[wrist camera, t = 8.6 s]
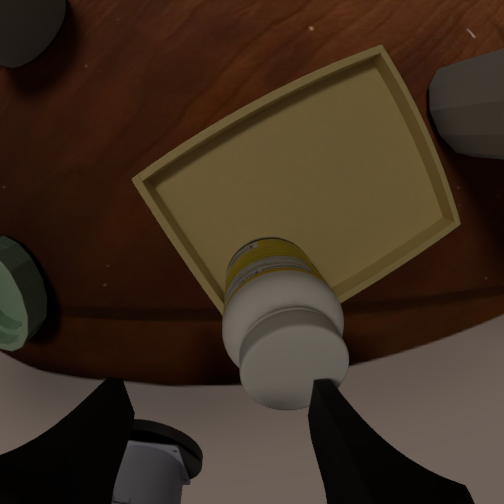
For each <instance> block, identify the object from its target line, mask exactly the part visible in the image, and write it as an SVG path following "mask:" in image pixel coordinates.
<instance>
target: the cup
mask: <svg viewBox="0 0 504 504" xmlns="http://www.w3.org/2000/svg"><path fill="white" fill-rule="evenodd" d="M65 11H66V1H65V0H0V65H2V66H6V67H11V68H13V67H19V66H22V65H24V64H26V63H28V62H30V61H32V60H33V59H34V58H36V57H37V56H39V55H40V54H41V53H42V52H43V51H44V50H45V49H46V48H47V47H48V46H49V44H50V43H51V42H52V40H53V39H54V38H55V36H56V35H57V33H58V31H59V29H60V28H61V25H62V23H63V20H64V17H65Z"/></svg>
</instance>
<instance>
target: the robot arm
mask: <svg viewBox="0 0 504 504" xmlns="http://www.w3.org/2000/svg"><path fill="white" fill-rule="evenodd" d="M134 414H135V413H134V410H133V407H132V405H131V402H130V399H129V396H128V394H127V391H126V388H125V385H124V382H123V379H122V378H113V377H108V378H107V379H106V380H105V381H104V382H103V383H102V384H100V385H99V386H98V388H96V389H95V390H94V391H93V392H92V393H91V394H90V395H89V396H88V397H87V398H86V399H85V400H84V401H82V402H81V403H80V404H79V405H78V406H77V407H76V408H75V409H74V410H73V411H71V412H70V413H69V414H68V415H67V416H65V417H64V418H63V419H62V420H61V421H59V422H58V423H57V424H56V425H55V426H53V427H52V428H50V429H49V430H47V431H46V432H44V433H43V434H41V435H40V436H38V437H37V438H35V439H33V440H31V441H29V442H28V443H26V444H24V445H22V446H20V447H18V448H16V449H14V450H12V451H9V452H7V453H4V454H2V455H0V504H180V503H181V495H182V486H183V485H189V484H190V479H189V476H188V473H187V470H186V467H185V464H184V461H183V458H182V455H181V452H180V448H179V446H178V445H176V444H166V443H156V442H147V441H138V440H131V439H129V438H130V435H131V430H132V425H133V420H134ZM308 420H309V427H310V434H311V440H312V444H313V447H314V451H315V454H316V458H317V462H318V465H319V469H320V472H321V476H322V480H323V483H324V488H325V492H326V498H327V504H475V503H474V501H473V499H472V497H471V495H470V492H469V491H468V489H467V488H466V486H465V485H463V484H460V483H457V482H455V481H452V480H449V479H447V478H444V477H442V476H440V475H438V474H435V473H433V472H431V471H429V470H427V469H426V468H424V467H422V466H420V465H419V464H417V463H416V462H414V461H412V460H411V459H409V458H408V457H406V456H405V455H403V454H402V453H400V452H399V451H398V450H396V449H395V448H394V447H393V446H391V445H390V444H389V443H388V442H386V441H385V440H384V439H383V438H382V437H381V436H379V435H378V434H377V433H376V432H375V431H374V430H373V429H372V428H371V427H370V426H369V425H368V424H367V423H366V422H365V421H364V420H363V419H362V417H360V415H359V414H358V413H357V412H356V411H355V410H354V409H353V407H352V406H351V405H350V404H349V403H348V401H347V400H346V399H345V398H344V397H343V395H342V394H341V393H340V391H339V390H338V389H337V387H336V386H335V385H334V383H333V382H332V381H331V380H320V381H314V383H313V389H312V395H311V401H310V407H309V413H308Z"/></svg>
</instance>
